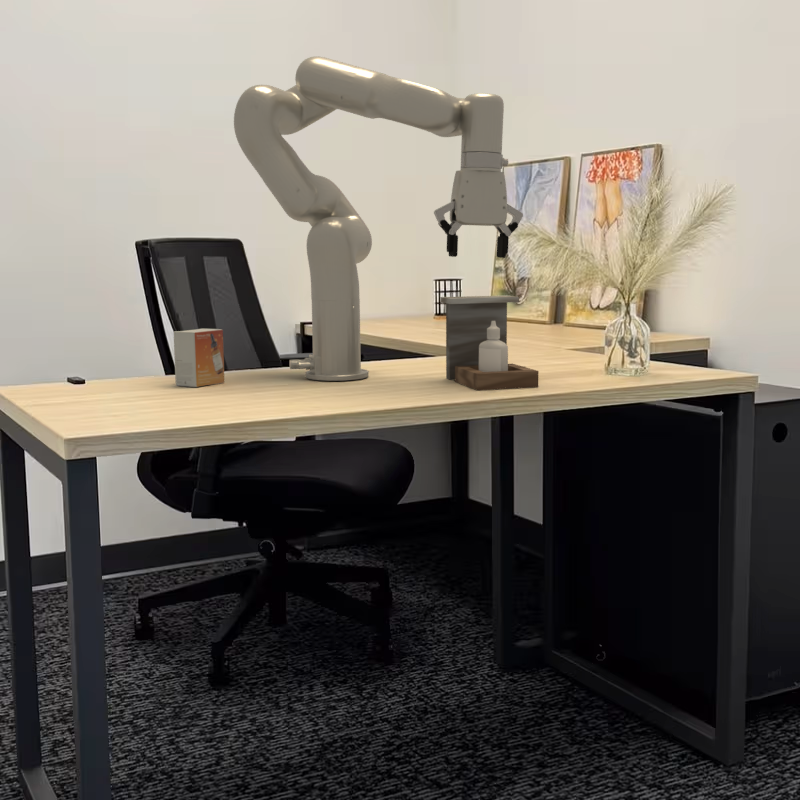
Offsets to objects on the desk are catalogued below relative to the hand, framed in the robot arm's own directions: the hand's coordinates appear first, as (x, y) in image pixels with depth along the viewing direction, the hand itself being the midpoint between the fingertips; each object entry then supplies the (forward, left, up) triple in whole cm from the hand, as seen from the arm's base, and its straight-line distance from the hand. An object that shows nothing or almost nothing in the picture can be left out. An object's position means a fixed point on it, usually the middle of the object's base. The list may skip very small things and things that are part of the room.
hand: (477, 257), depth 182 cm
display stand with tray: (+2, -2, -24) cm, 24 cm away
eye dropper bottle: (+2, -4, -24) cm, 24 cm away
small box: (-51, +16, -24) cm, 58 cm away
